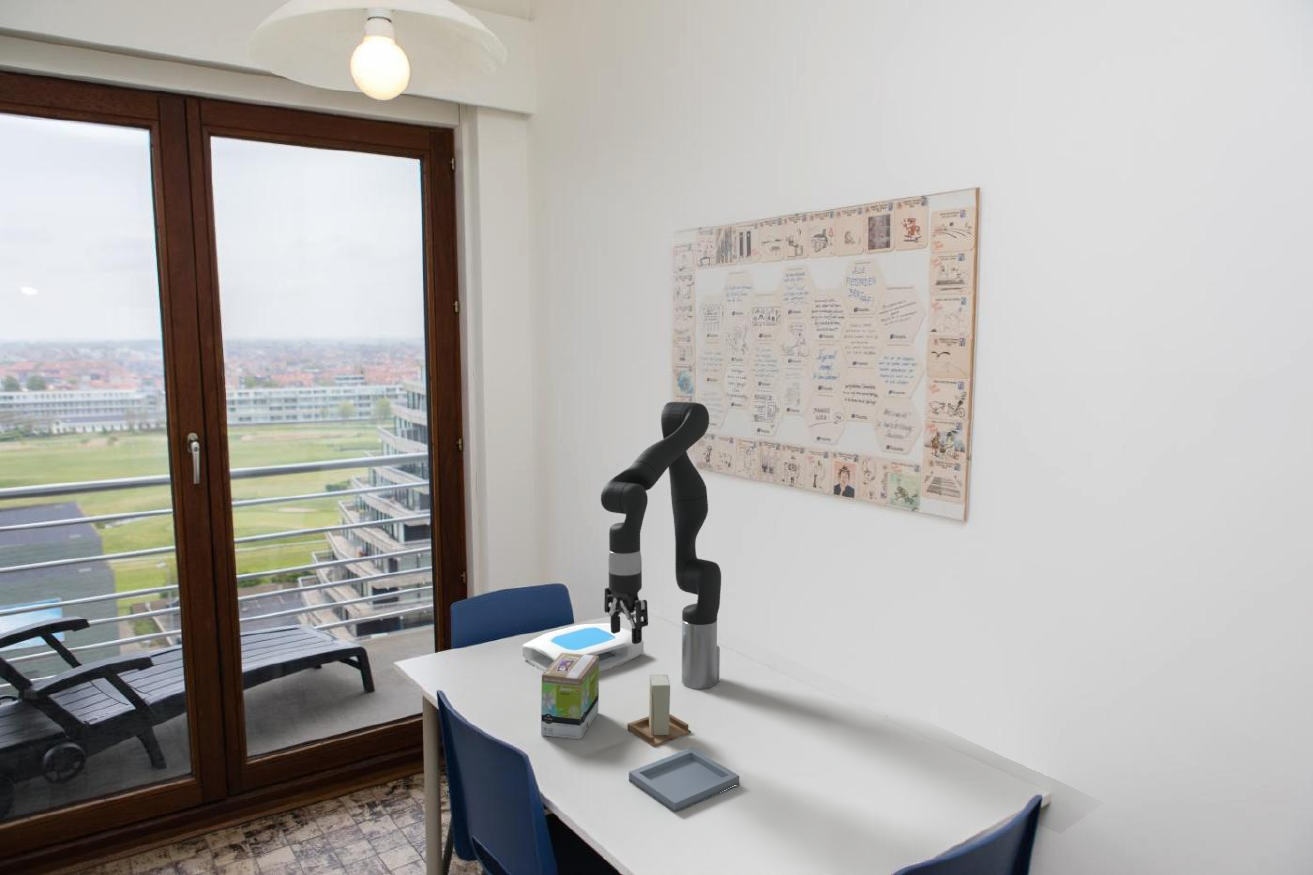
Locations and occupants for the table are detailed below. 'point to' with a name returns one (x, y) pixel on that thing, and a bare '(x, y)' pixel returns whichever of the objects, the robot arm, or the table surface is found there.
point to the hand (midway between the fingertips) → (625, 637)
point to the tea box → (569, 695)
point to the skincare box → (659, 705)
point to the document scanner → (583, 645)
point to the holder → (643, 732)
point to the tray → (683, 779)
